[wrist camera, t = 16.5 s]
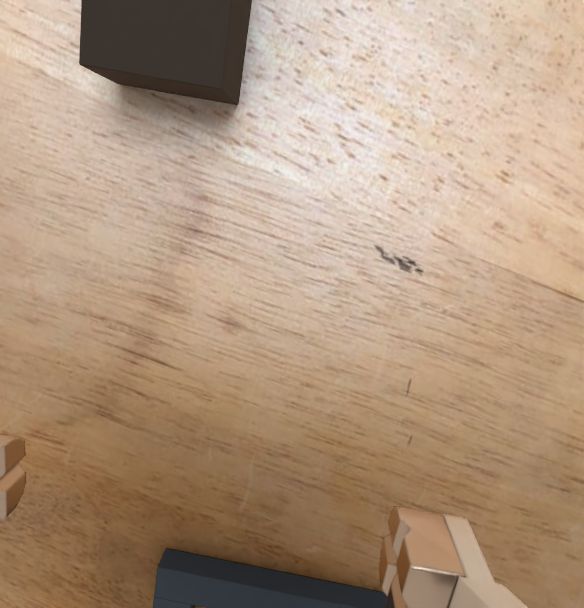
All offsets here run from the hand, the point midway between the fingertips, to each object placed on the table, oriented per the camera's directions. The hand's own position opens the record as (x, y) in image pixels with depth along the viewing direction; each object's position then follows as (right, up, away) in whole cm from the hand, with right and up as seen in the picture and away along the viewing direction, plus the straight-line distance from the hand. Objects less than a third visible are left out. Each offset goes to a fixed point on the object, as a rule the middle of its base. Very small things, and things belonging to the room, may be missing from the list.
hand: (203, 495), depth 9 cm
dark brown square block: (-3, +17, +11) cm, 21 cm away
